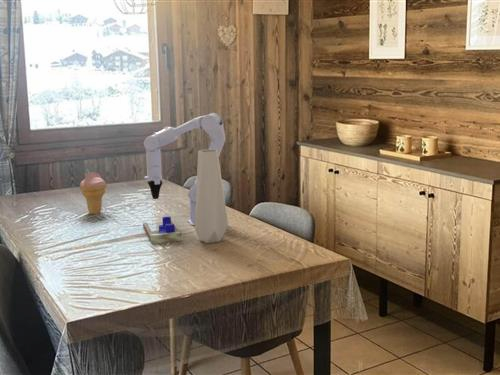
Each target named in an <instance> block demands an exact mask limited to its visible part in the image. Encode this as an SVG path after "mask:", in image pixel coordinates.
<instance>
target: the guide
mask: <svg viewBox="0 0 500 375" xmlns="http://www.w3.org/2000/svg"><path fill="white" fill-rule="evenodd" d="M171 224H174V223H173V221H172V220H171ZM142 228H143V230H144V232H145V234H146V236H147V238H148V239H149V241H150V244H162V243H171V242H172V243H174V242H180V241H182V240H183V239H182V238H183V236H182V232H181V231H179V230H178V228H177V227H176V226H175V224H174V228H175V232H171V233H161V234H160V233H153V231H152V229H151V228H150V226H149V224H148V222H142Z"/></svg>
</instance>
